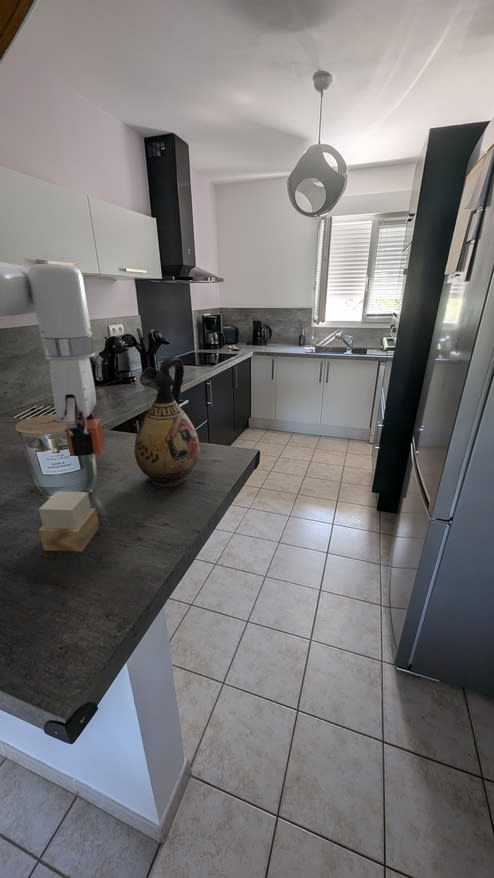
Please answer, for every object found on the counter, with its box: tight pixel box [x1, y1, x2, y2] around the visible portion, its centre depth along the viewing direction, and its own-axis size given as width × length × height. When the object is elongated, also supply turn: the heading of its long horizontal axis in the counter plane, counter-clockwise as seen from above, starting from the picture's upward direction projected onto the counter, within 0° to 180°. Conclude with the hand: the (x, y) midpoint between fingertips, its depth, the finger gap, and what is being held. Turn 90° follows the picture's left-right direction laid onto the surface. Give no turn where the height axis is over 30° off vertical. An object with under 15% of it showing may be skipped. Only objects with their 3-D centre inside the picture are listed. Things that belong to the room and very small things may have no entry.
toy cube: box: [65, 418, 105, 456], centre depth 65 cm, size 5×5×5 cm
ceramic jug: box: [134, 356, 201, 488], centre depth 84 cm, size 17×15×30 cm
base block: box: [38, 507, 101, 553], centre depth 67 cm, size 7×7×4 cm
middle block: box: [38, 491, 92, 529], centre depth 65 cm, size 6×6×4 cm
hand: (87, 447), depth 65 cm, fingers closed on toy cube, 5 cm apart
